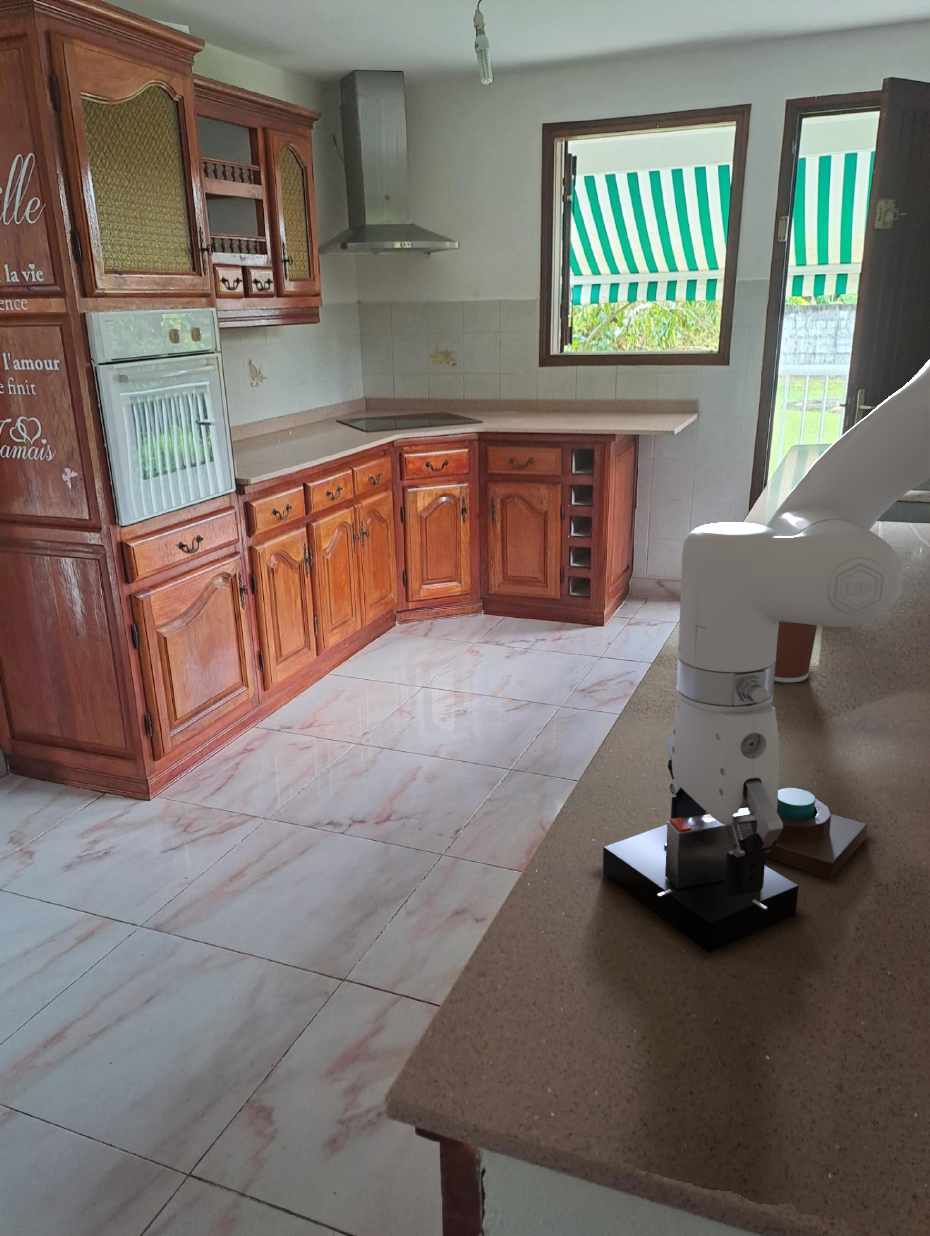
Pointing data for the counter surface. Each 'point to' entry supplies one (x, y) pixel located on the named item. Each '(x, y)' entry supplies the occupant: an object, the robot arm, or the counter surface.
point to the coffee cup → (794, 651)
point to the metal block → (698, 849)
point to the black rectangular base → (696, 894)
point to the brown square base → (818, 841)
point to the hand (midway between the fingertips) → (714, 861)
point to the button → (795, 804)
